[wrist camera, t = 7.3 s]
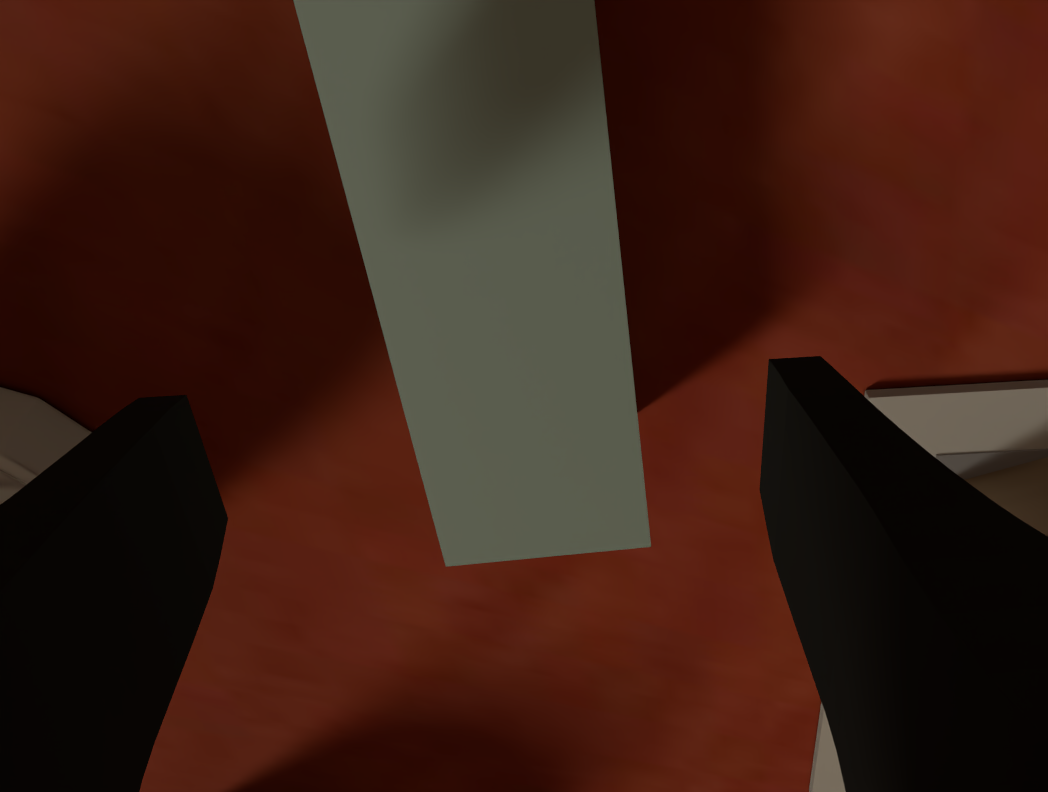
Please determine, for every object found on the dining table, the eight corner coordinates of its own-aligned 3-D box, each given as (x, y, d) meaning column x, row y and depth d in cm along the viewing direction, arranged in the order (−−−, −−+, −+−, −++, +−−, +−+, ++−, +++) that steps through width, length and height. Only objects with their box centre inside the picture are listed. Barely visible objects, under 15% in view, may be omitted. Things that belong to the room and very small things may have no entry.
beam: (569, -195, 16) (577, -164, 12) (633, 409, 23) (650, 546, 19) (327, -153, 16) (263, -111, 12) (461, 428, 23) (445, 566, 19)
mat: (1240, 368, 21) (1250, 377, 21) (1076, 780, 30) (1081, 791, 30) (865, 390, 22) (869, 399, 22) (808, 789, 30) (811, 799, 30)
